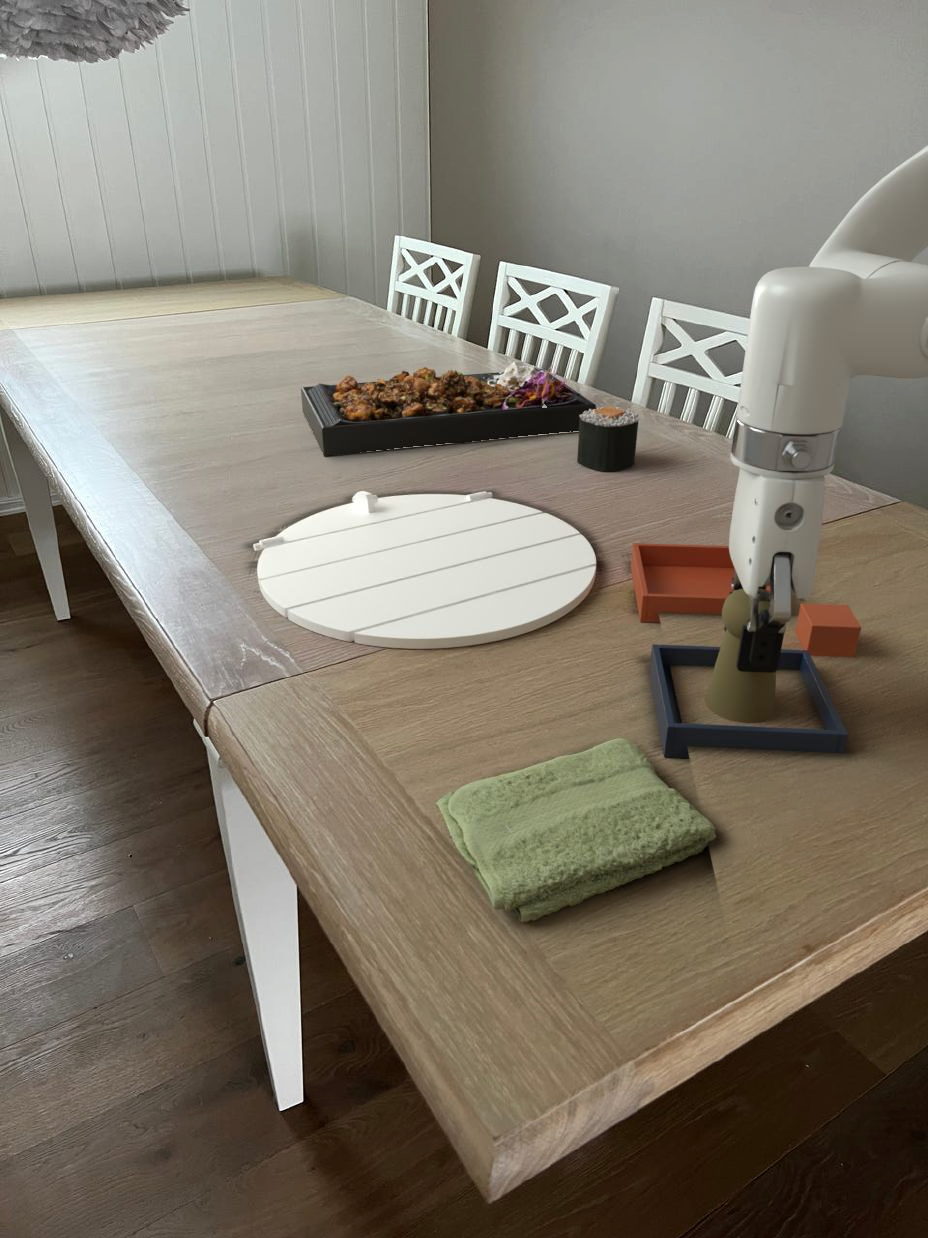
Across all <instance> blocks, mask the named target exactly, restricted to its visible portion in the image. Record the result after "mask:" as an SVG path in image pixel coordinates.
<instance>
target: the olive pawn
mask: <svg viewBox="0 0 928 1238" xmlns="http://www.w3.org/2000/svg"><path fill="white" fill-rule="evenodd" d="M758 591H760V592H770V591H768V590H765V589H760V588H758ZM769 606H770V601H759V610H758V615H759V613H760V612H761V611H762V610H768V607H769ZM748 607H749V596H748V595H747V594H746V593H745V591H744V589H739V590H736V591H734V592H733V593H731V594H730V595H729V596H728V597H727V598H726V600H725V602H724V605H723V609H722V614H721V619H722V624H723V625H724V626H725V627H726V632H725V631H724V634H723V639H722V642H721V645H720V647H721V648H720V651H719V654H718V658H717V661H716V664H715V667H713V671H712V674H711V677H710V681H709V684H708V686H707V690H706V694H705V697H704V701H705V705H706V707H707V708H708V709H709V710H710V711H711V712H712V713H714V714H715V715H717V716H718V717H720V718H722V719H725V720H728V721H731V722H736V723H740V724H741V723H742V724H754V723H755V724H756V723H760V722H764V721H766V720H769V719H771V717H772V716H773V715H774V714H775V710H776V693H777V692H776V690H777V687H776V686H777V685H776V684H777V671H776V672H774V673H764V672H741V671H739V670H738V669H737V666H736V663H737V656H738V650H739V644H740V638H741V632H742V626H747V619H748ZM724 626H723V627H724Z"/></svg>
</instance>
